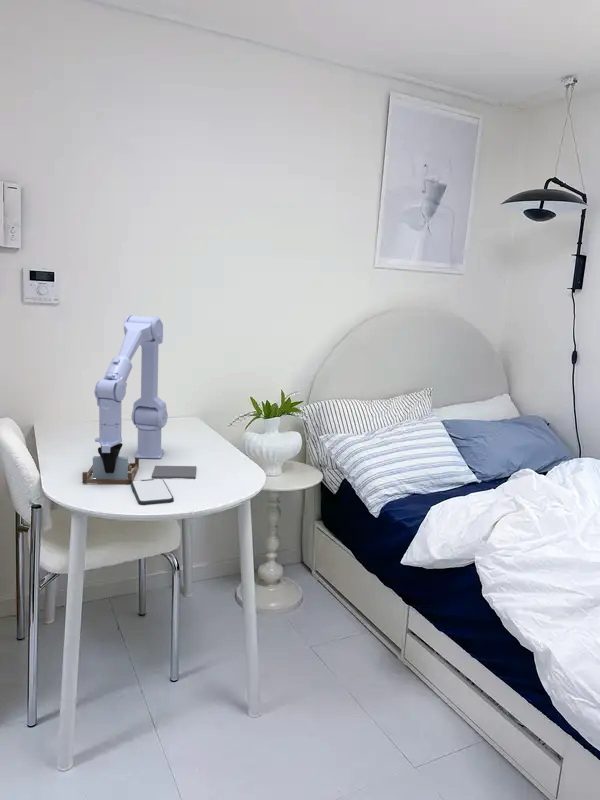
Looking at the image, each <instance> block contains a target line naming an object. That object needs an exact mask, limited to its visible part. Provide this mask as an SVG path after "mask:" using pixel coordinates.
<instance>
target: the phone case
mask: <svg viewBox="0 0 600 800" xmlns="http://www.w3.org/2000/svg"><path fill="white" fill-rule="evenodd" d="M130 487H131V490H132V492H133V495H134V496H135V499H136V502H137V504H138V505H140V506H149V505H160V504H162V505H163V504H171V503H173V502H174V496H173V494H172V493H171V491H170V489H169V487H168V485H167V483H166V482H165V480H164V478H150V479H149V478H148V479H140V480H139V479H135V480H133V481H132V482H131V484H130Z"/></svg>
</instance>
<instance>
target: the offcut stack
mask: <svg viewBox="0 0 600 800" xmlns="http://www.w3.org/2000/svg"><path fill="white" fill-rule="evenodd" d="M130 463H131V462H128V472H132V470H133V468H132V466H130Z"/></svg>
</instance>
